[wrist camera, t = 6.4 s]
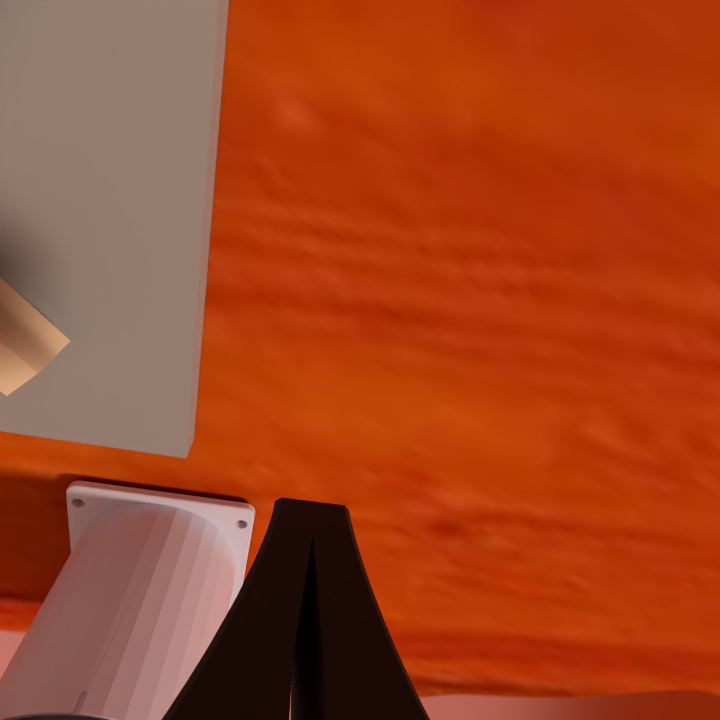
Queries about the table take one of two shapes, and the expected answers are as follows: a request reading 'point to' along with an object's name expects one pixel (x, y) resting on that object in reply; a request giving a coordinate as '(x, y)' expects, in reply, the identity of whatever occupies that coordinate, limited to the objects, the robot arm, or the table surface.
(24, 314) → the capstan
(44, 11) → the stand board
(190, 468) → the table surface
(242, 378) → the table surface
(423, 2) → the table surface
